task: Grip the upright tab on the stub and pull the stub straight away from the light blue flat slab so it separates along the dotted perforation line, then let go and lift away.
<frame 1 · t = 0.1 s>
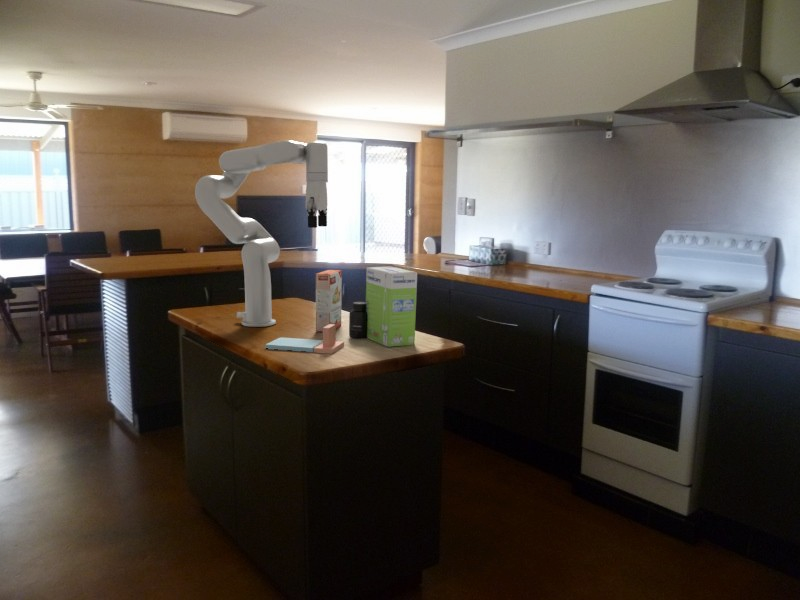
hand: (317, 226, 231), 37 cm above the countertop, tool pointing down, fingers open, 9 cm apart
stub: (329, 337, 204), point 4 cm above the countertop, slide at 0.0 cm
cracker box: (329, 329, 236), on the countertop
light blue flat slab: (296, 346, 207), on the countertop
toothbrush box: (389, 341, 217), on the countertop, touching supplement bottle
supplement bottle: (359, 337, 222), on the countertop, touching toothbrush box
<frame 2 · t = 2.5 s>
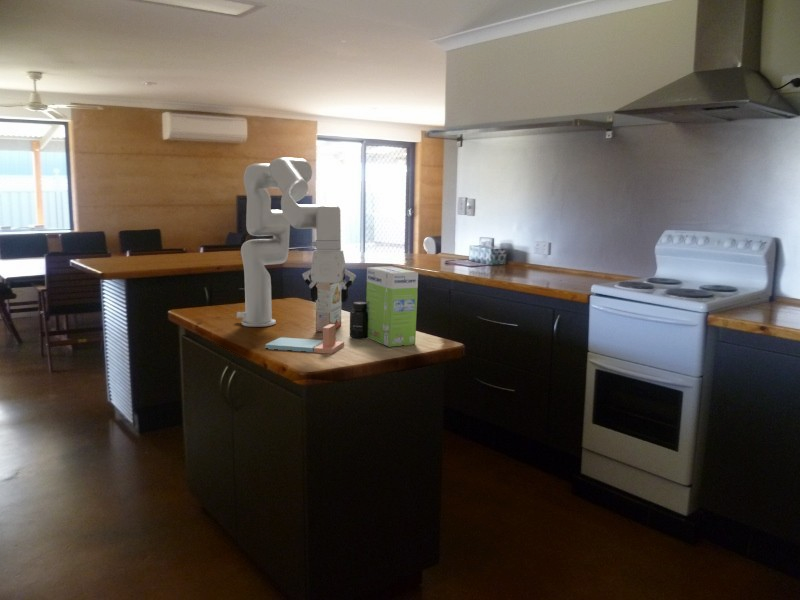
hand: (329, 300, 202), 15 cm above the countertop, tool pointing down, fingers open, 9 cm apart
nothing on the countertop moved.
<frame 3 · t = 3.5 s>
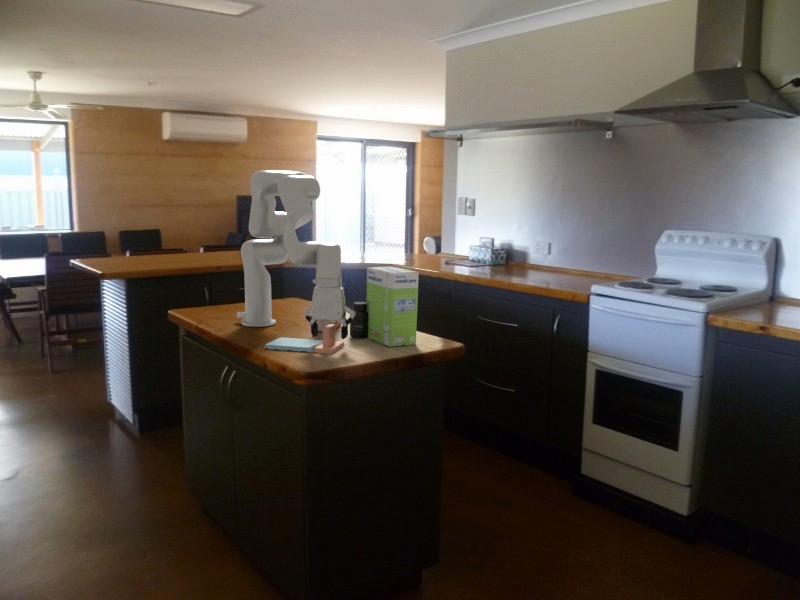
hand: (329, 337, 204), 4 cm above the countertop, tool pointing down, fingers open, 9 cm apart
nothing on the countertop moved.
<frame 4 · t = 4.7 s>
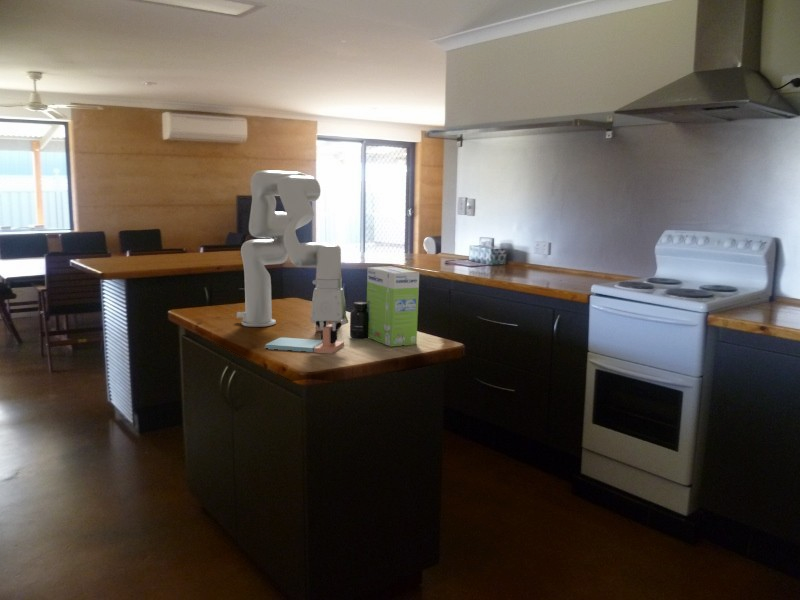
hand: (329, 341, 204), 2 cm above the countertop, tool pointing down, fingers closed on stub, 2 cm apart
stub: (329, 337, 204), point 4 cm above the countertop, slide at 0.0 cm, touching gripper
everything else where it was.
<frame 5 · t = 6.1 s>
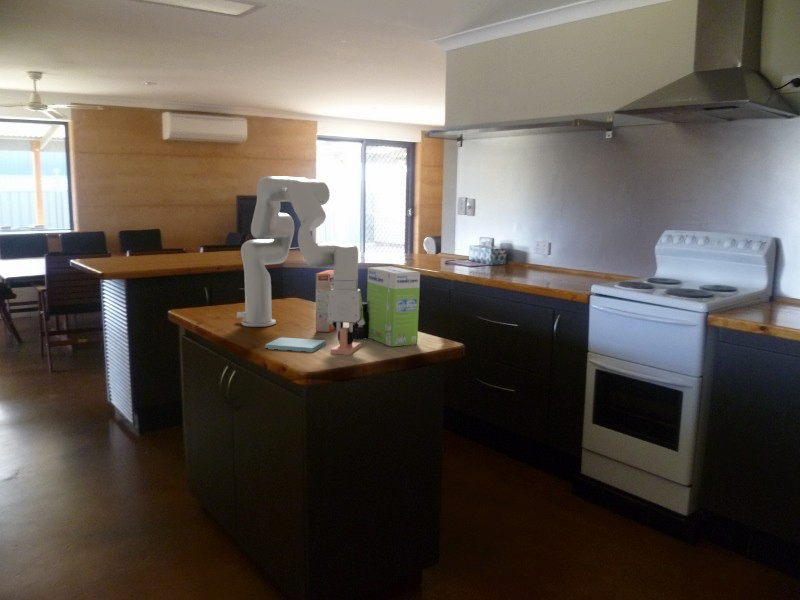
hand: (346, 342, 203), 2 cm above the countertop, tool pointing down, fingers closed on stub, 2 cm apart
stub: (346, 338, 203), point 4 cm above the countertop, slide at 5.6 cm, touching gripper
everything else where it was.
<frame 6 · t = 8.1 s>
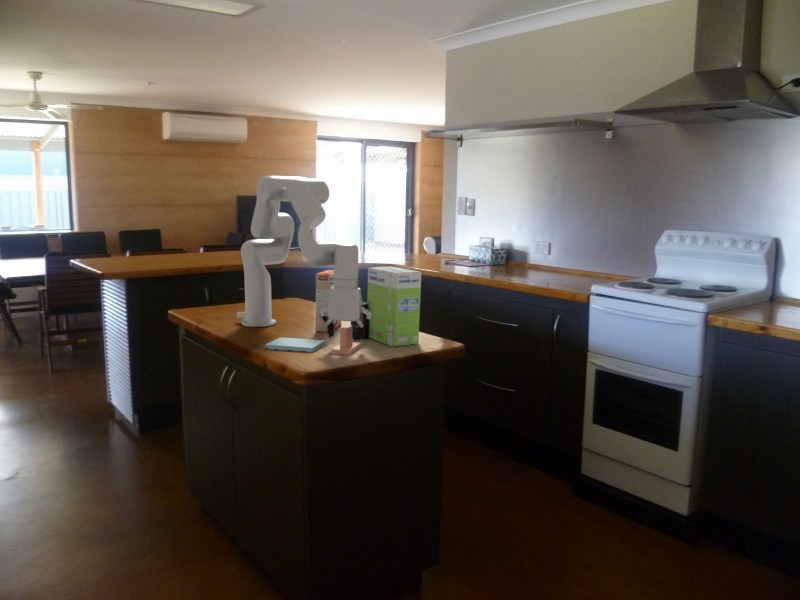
hand: (345, 337, 203), 4 cm above the countertop, tool pointing down, fingers open, 9 cm apart
stub: (346, 338, 203), point 4 cm above the countertop, slide at 5.7 cm
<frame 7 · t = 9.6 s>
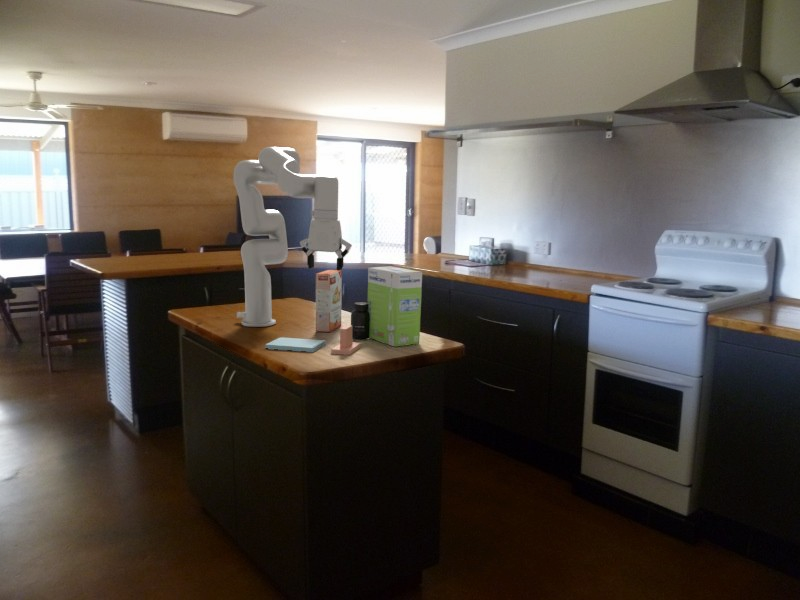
hand: (325, 268, 209), 24 cm above the countertop, tool pointing down, fingers open, 9 cm apart
supplement bottle: (360, 338, 221), on the countertop, touching toothbrush box
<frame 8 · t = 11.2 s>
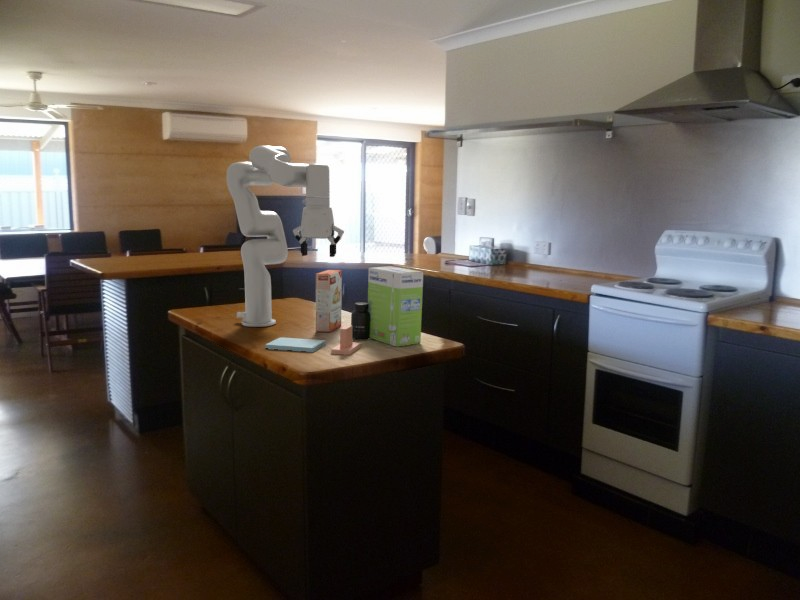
hand: (318, 256, 211), 28 cm above the countertop, tool pointing down, fingers open, 9 cm apart
supplement bottle: (361, 338, 221), on the countertop, touching toothbrush box
at the end: stub slide at 5.7 cm; the gripper is holding nothing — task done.
